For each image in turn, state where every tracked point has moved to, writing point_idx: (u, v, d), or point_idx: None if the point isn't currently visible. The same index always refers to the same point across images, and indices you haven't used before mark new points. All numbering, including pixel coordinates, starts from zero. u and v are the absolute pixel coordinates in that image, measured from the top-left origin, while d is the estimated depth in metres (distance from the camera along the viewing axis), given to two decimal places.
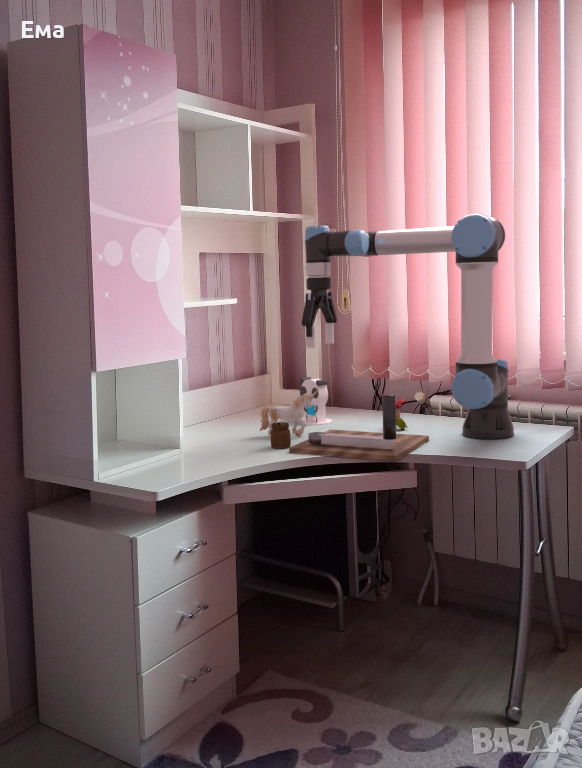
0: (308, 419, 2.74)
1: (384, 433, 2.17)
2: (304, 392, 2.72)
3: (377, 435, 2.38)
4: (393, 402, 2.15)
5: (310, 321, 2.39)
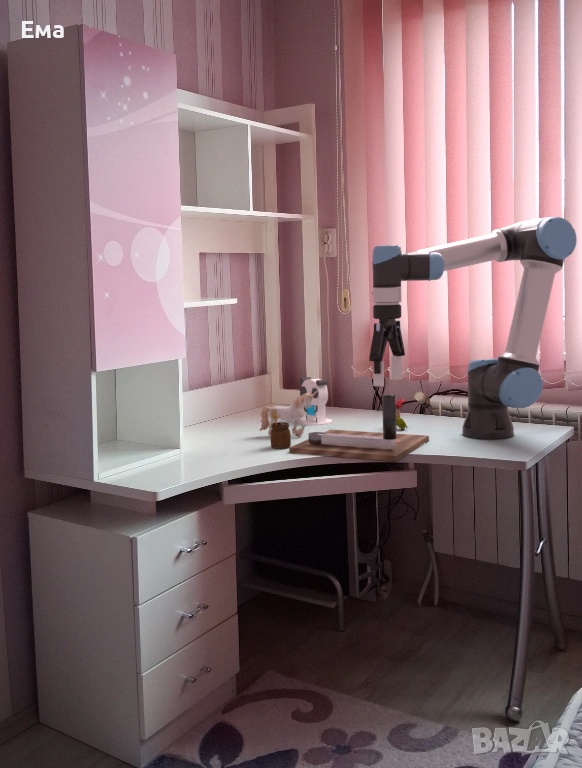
0: (308, 419, 2.74)
1: (384, 433, 2.17)
2: (304, 392, 2.72)
3: (377, 435, 2.38)
4: (393, 402, 2.15)
5: (379, 356, 2.06)
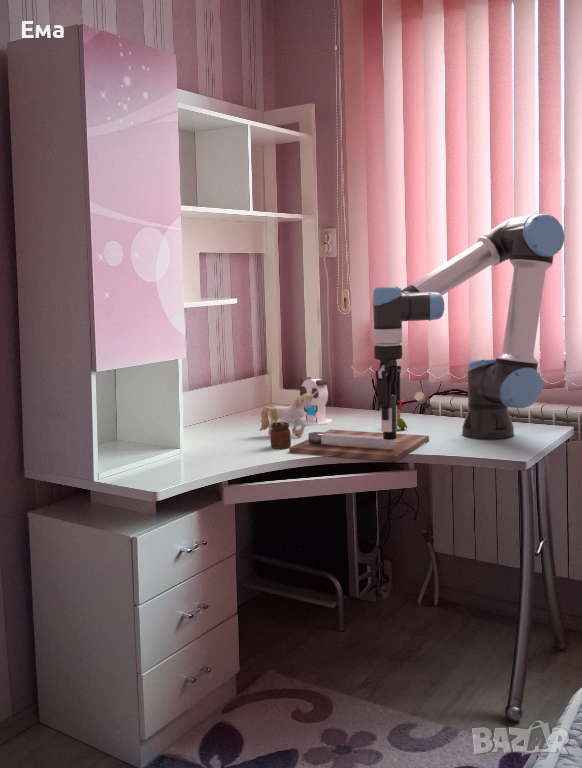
0: (308, 419, 2.74)
1: (384, 433, 2.17)
2: (304, 392, 2.72)
3: (377, 435, 2.38)
4: (393, 402, 2.15)
5: (387, 402, 2.12)
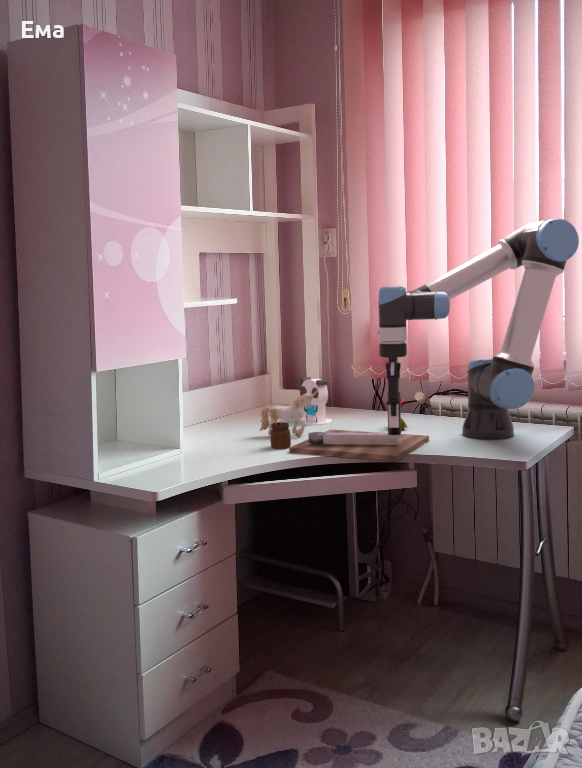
0: (308, 419, 2.74)
1: (390, 429, 2.22)
2: (304, 392, 2.72)
3: None
4: (399, 398, 2.21)
5: (397, 398, 2.17)
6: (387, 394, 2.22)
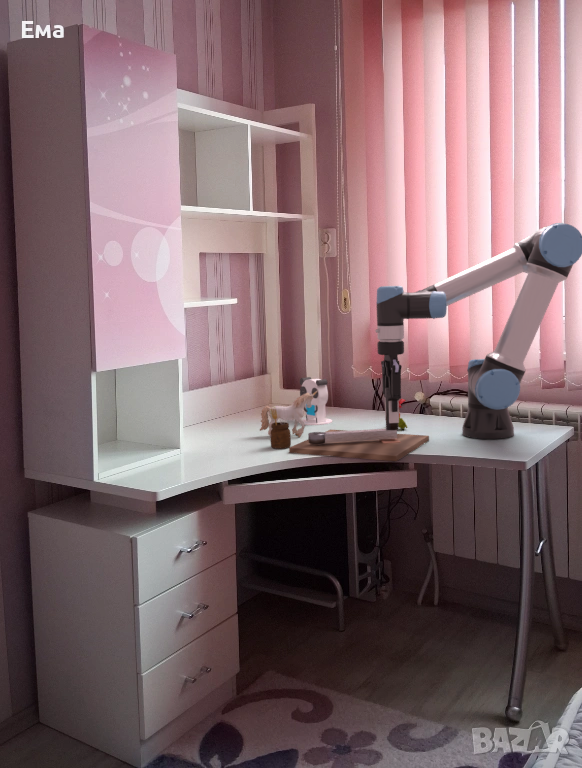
0: (308, 419, 2.74)
1: (390, 424, 2.29)
2: (304, 392, 2.72)
3: None
4: None
5: None
6: (386, 391, 2.28)
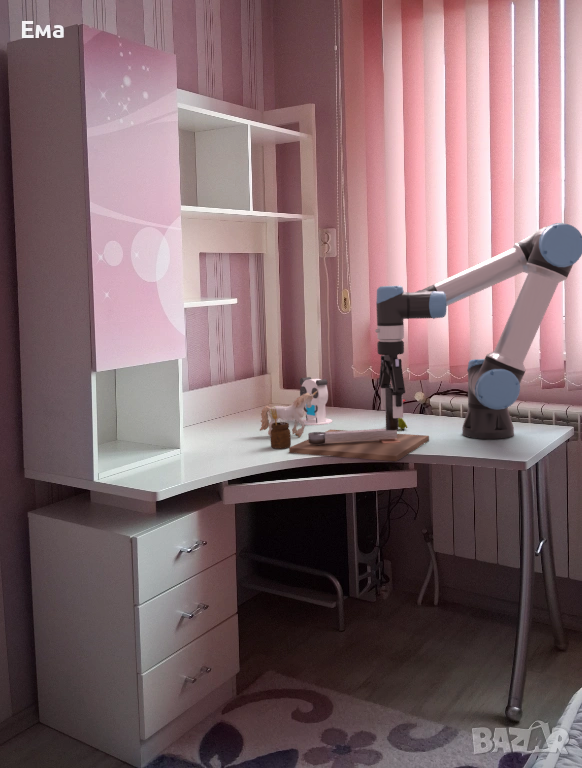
0: (308, 419, 2.74)
1: (390, 424, 2.29)
2: (304, 392, 2.72)
3: None
4: None
5: None
6: (386, 391, 2.28)
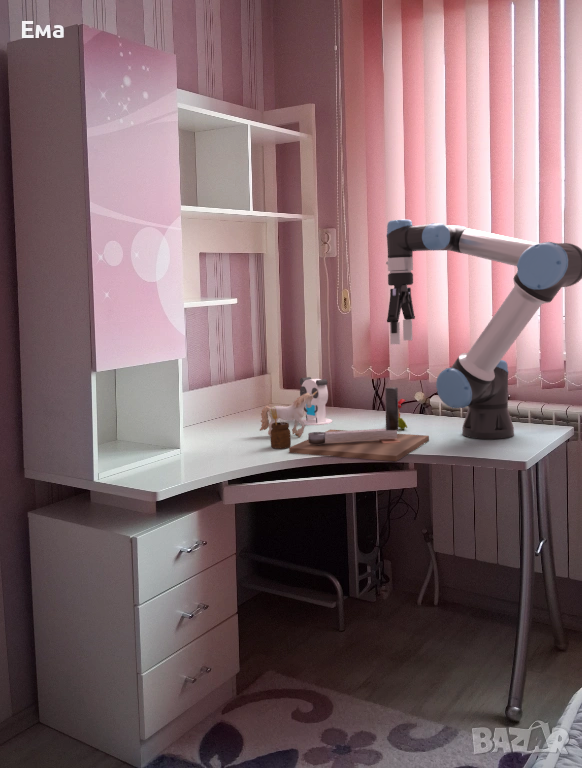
0: (308, 419, 2.74)
1: (390, 424, 2.29)
2: (304, 392, 2.72)
3: None
4: (397, 394, 2.29)
5: (396, 317, 2.34)
6: (386, 391, 2.28)
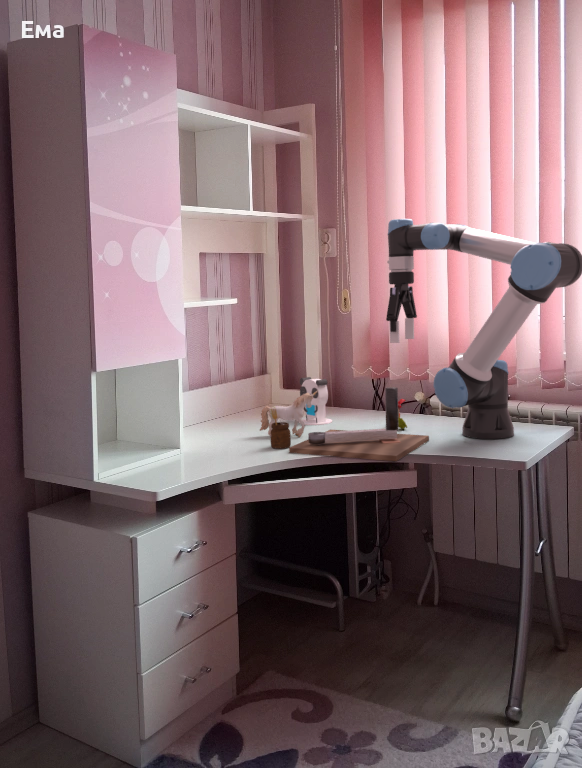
0: (308, 419, 2.74)
1: (390, 424, 2.29)
2: (304, 392, 2.72)
3: None
4: (397, 394, 2.29)
5: (395, 316, 2.35)
6: (386, 391, 2.28)
